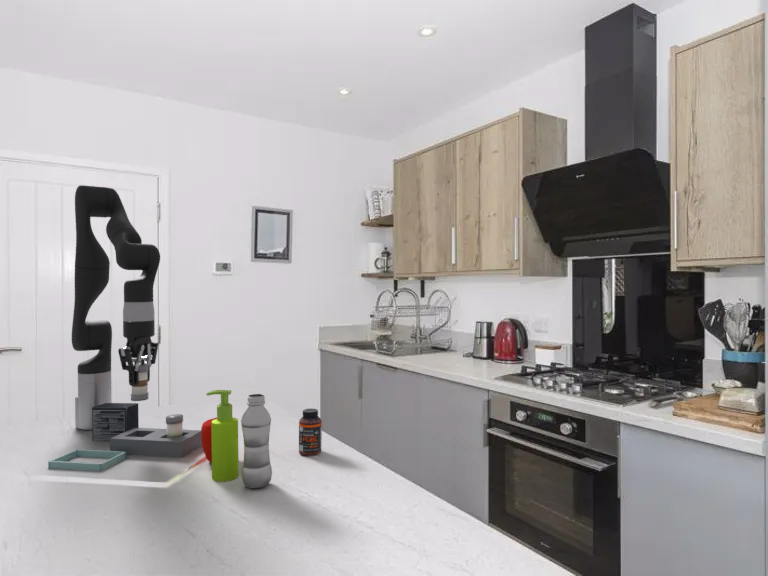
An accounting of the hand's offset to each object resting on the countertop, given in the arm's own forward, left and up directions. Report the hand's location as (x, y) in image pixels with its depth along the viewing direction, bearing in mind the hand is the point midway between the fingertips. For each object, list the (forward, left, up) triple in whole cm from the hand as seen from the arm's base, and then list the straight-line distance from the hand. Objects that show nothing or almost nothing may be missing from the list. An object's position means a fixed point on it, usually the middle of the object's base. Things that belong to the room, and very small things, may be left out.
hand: (139, 383), depth 136 cm
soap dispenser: (+30, -13, -19) cm, 38 cm away
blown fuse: (0, 0, -4) cm, 4 cm away
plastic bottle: (+40, -17, -19) cm, 47 cm away
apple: (+24, -3, -19) cm, 31 cm away
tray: (-6, -12, -18) cm, 23 cm away
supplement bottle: (+45, +6, -19) cm, 49 cm away
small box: (-13, +8, -19) cm, 24 cm away
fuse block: (+5, 0, -18) cm, 19 cm away
